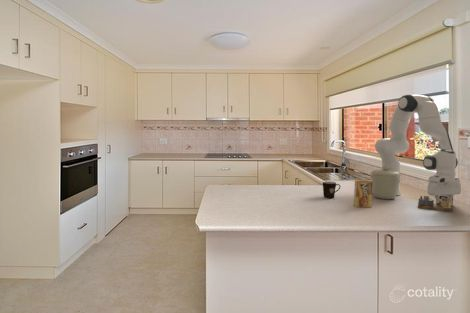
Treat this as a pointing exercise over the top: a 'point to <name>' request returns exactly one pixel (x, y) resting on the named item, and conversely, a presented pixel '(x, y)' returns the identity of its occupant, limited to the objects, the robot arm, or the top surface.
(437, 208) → the gear board
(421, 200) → the gear
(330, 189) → the coffee mug
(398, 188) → the robot arm
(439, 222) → the top surface
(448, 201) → the brass gear
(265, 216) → the top surface
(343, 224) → the top surface
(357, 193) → the candy box
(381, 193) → the canister
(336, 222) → the top surface
